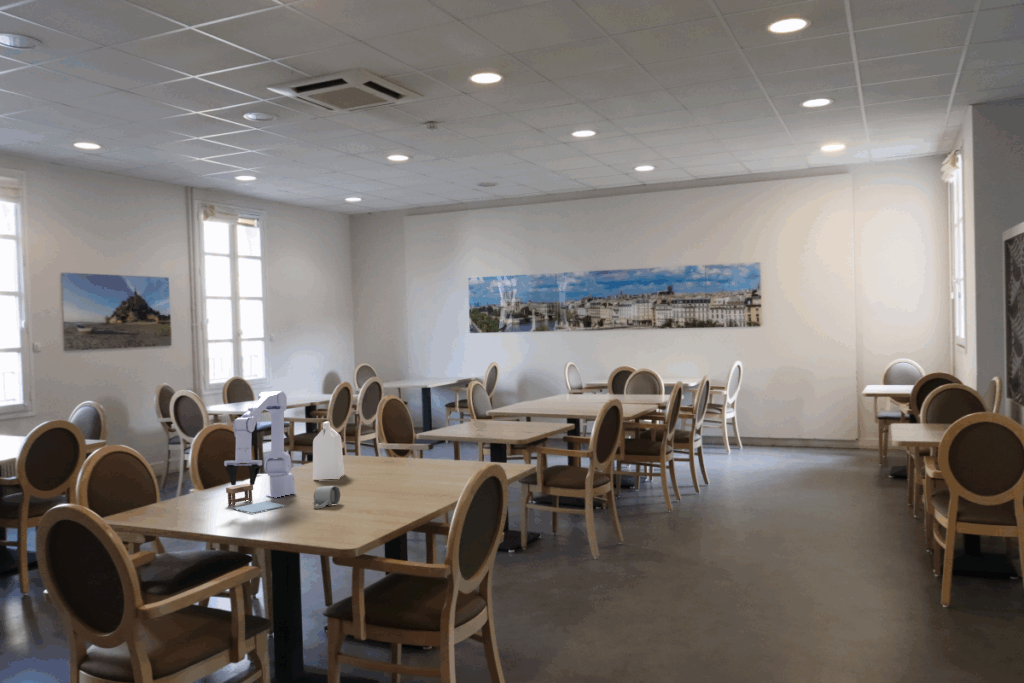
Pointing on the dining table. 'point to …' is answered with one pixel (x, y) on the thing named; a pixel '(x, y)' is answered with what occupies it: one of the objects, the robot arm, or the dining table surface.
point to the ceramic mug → (326, 496)
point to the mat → (259, 507)
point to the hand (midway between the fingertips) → (242, 484)
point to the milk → (327, 454)
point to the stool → (237, 489)
